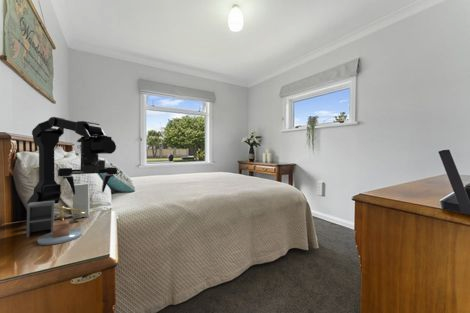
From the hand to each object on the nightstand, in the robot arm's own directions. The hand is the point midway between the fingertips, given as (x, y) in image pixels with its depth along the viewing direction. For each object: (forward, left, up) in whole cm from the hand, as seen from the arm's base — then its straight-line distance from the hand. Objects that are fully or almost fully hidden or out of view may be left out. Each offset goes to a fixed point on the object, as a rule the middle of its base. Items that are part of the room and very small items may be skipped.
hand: (89, 193), depth 81 cm
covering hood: (+6, -12, -7) cm, 15 cm away
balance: (-5, -12, -12) cm, 18 cm away
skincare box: (-15, -10, -13) cm, 22 cm away
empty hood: (+6, -12, -12) cm, 18 cm away
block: (+13, -2, -12) cm, 18 cm away
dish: (+13, -2, -12) cm, 18 cm away
